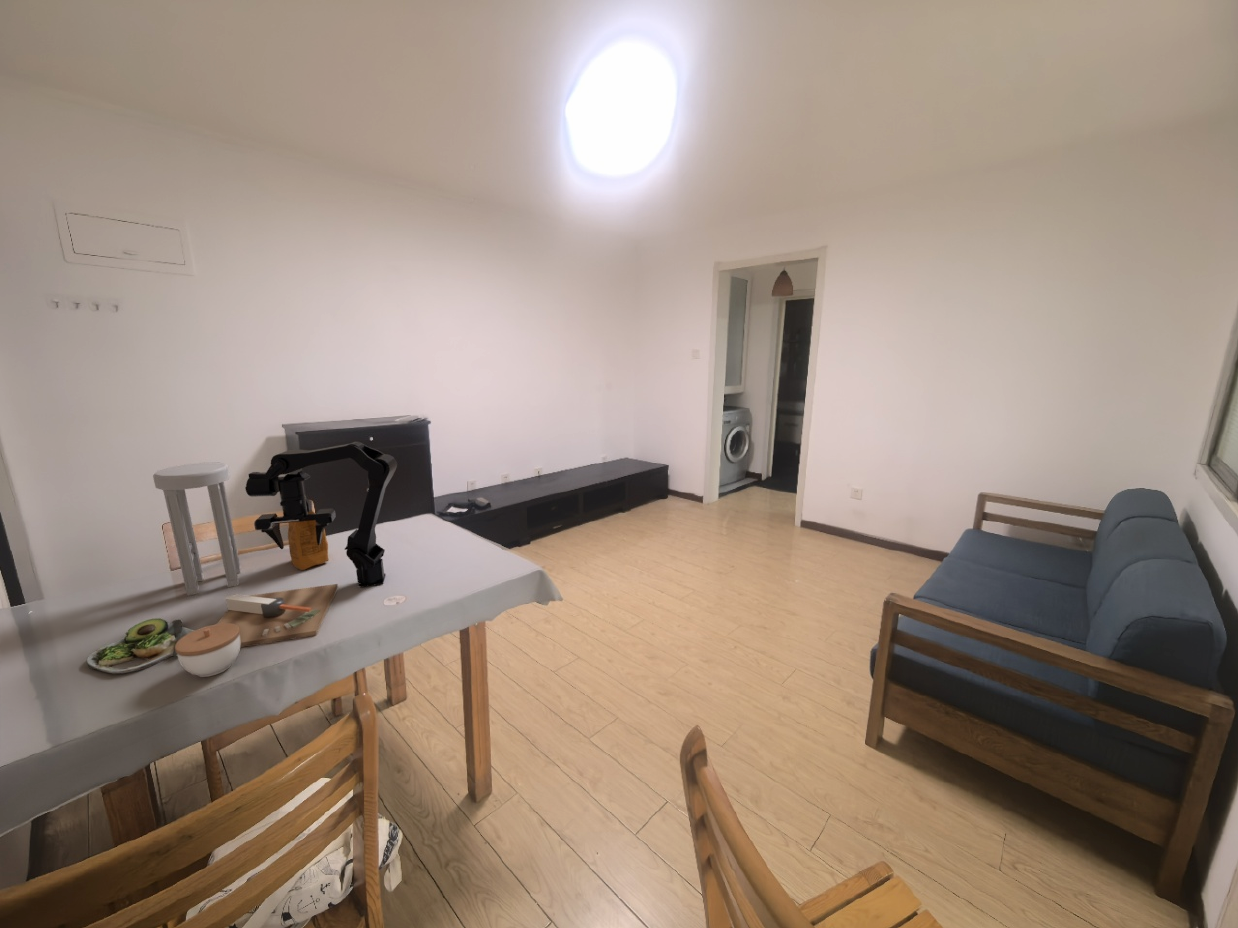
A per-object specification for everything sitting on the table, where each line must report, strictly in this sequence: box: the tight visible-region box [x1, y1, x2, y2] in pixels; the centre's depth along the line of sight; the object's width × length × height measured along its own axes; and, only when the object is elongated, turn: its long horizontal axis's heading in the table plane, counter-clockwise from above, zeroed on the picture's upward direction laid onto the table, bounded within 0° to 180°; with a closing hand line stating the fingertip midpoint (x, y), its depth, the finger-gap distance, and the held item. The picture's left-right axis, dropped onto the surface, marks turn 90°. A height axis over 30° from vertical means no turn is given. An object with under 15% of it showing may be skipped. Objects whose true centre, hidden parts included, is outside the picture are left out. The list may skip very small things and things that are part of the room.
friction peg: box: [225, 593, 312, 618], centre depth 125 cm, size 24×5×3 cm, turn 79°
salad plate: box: [86, 617, 195, 674], centre depth 111 cm, size 19×18×5 cm
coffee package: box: [287, 510, 329, 571], centre depth 155 cm, size 10×12×22 cm
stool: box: [152, 462, 242, 596], centre depth 139 cm, size 16×16×35 cm
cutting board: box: [216, 583, 339, 648], centre depth 126 cm, size 24×25×2 cm
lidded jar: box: [175, 623, 242, 678], centre depth 105 cm, size 11×11×9 cm
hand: (300, 546), depth 140 cm, fingers open, 9 cm apart
